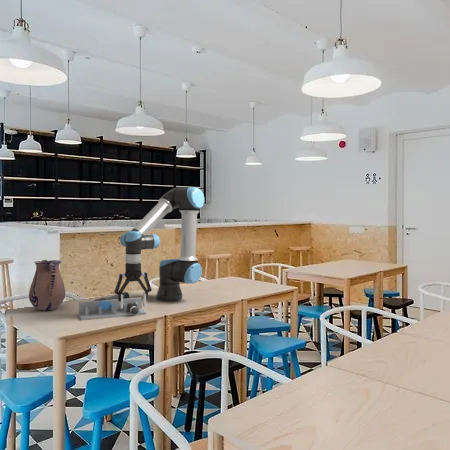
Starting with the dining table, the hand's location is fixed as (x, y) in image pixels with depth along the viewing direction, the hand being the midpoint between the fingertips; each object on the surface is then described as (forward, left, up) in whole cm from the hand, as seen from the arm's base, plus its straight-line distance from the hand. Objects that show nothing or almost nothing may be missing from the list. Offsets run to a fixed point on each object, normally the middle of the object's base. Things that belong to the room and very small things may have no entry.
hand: (133, 306), depth 221 cm
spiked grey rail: (+9, -4, -4) cm, 11 cm away
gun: (+6, -23, -4) cm, 24 cm away
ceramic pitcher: (+37, -28, -4) cm, 47 cm away
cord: (0, -1, -3) cm, 3 cm away
